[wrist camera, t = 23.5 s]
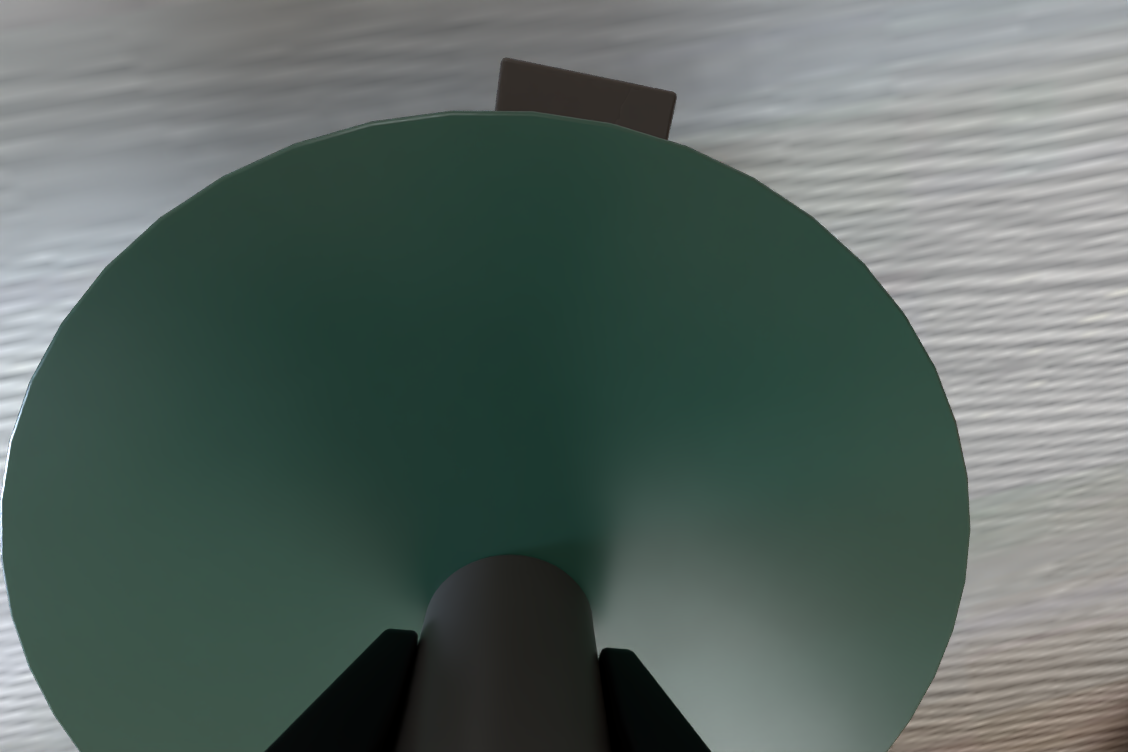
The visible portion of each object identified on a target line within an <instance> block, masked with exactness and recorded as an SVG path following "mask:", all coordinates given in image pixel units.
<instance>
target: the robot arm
mask: <svg viewBox="0 0 1128 752" xmlns="http://www.w3.org/2000/svg"><path fill="white" fill-rule="evenodd" d="M417 646H418V635H417V632H415V631H413V630H403V629H392V628H391V629H387V630H385V631H383V632H382V633H381V634H380V635H379V636H378V637H377V638H376V639H375V640H374V641H373V642H372V643H371V644H370V645H369V646H368V647H367V648H366V649H365V650H364V652H363V653H362V654H361V655H360V656H359V657H358V658H357V659H356V660H355V661H354V662H353V663H352V664H351V665H350V666H349V667H348V668H347V669H346V670H345V671H344V672H343V673H342V674H341V675H340V676H339V677H338V678H337V679H336V680H335V681H334V682H333V683H332V684H331V685H330V686H329V687H328V688H327V689H326V690H325V691H324V692H323V693H322V694H321V695H320V696H319V697H318V698H317V699H316V700H315V701H314V702H313V703H312V704H311V705H310V706H309V707H308V708H307V709H306V710H305V711H304V712H303V713H302V714H301V715H300V716H299V717H298V718H297V719H296V720H295V721H294V722H293V723H292V724H291V725H290V726H289V727H288V728H287V729H286V730H285V731H284V732H283V733H282V734H281V735H280V736H279V737H278V738H277V739H276V740H275V741H274V742H273V743H272V744H271V745H270V746H269V747H268V748H267V749H266V750H265V751H264V752H390V749H391V745H392V741H393V738H394V734H395V730H396V726H397V723H398V719H399V715H400V711H401V707H402V703H403V700H404V696H405V692H406V688H407V684H408V680H409V677H410V673H411V669H412V665H413V661H414V657H415V654H416V650H417ZM598 660H599V667H600V673H601V680H602V687H603V694H604V701H605V708H606V715H607V722H608V729H609V736H610V742H611V749H612V752H711V750H710V749H709V748H708V746H707V745H706V744H705V743H704V741H703V740H702V739H701V737H700V736H699V735H698V734H697V732H696V731H695V730H694V728H693V727H692V726H691V725H690V723H689V722H688V721H687V720H686V718H685V717H684V716H683V714H682V713H681V712H680V711H679V709H678V708H677V707H676V705H675V704H674V703H673V702H672V700H671V699H670V698H669V696H668V695H667V694H666V693H665V691H664V690H663V689H662V687H661V686H660V685H659V684H658V682H657V681H656V680H655V678H654V677H653V676H652V675H651V673H650V672H649V671H648V669H647V668H646V667H645V666H644V664H643V663H642V662H641V661H640V659H639V658H638V657H637V655H636V654H635V653H634V652H633V651H631V650H629V649H620V648H609V647H606V648H604V649H602V651H601V652H600V655H599V659H598Z"/></svg>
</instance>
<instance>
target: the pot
mask: <svg viewBox="0 0 1128 752" xmlns="http://www.w3.org/2000/svg"><path fill="white" fill-rule="evenodd" d="M676 99H677V96H676V93H674V92H672V91H667V90H663V89H658V88H653V87H648V86H643V85H638V84H633V83H629V82H624V81H619V80H614V79H609V78H604V77H599V76H594V75H590V74H585V73H580V72H575V71H570V70H565V69H560V68H555V67H551V66H546V65H541V64H536V63H531V62H526V61H521V60H517V59H512V58H503V59H502V61H501V66H500V74H499V82H498V90H497V98H496V106H495V111H534V112H540V113H547V114H554V115H560V116H567V117H573V118H580V119H586V120H593V121H599V122H606V123H612V124H616V125H619V126H622V127H625V128H629V129H632V130H635V131H639V132H642V133H645V134H649V135H652V136H655V137H658V138H662V139H665V140H668V138H669V133H670V128H671V123H672V118H673V114H674V109H675V104H676Z"/></svg>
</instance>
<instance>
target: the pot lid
mask: <svg viewBox="0 0 1128 752" xmlns="http://www.w3.org/2000/svg"><path fill="white" fill-rule="evenodd" d="M0 526H1V562H2V568H3V573H4V579H5V585H6V590H7V596H8V601H9V607H10V613H11V617H12V619H13V622H14V625H15V628H16V631H17V634H18V637H19V640H20V643H21V646H22V648H23V651H24V654H25V657H26V660H27V663H28V666H29V668H30V670H31V672H32V674H33V676H34V678H35V680H36V682H37V684H38V685H39V687H40V689H41V691H42V693H43V695H44V697H45V699H46V701H47V703H48V705H49V707H50V709H51V710H52V712H53V714H54V716H55V717H56V719H57V720H58V722H59V723H60V724H61V726H62V727H63V729H64V730H65V732H66V733H67V734H68V736H69V737H70V739H71V740H72V741H73V743H74V744H75V746H76V747H77V748H78V750H79V751H80V752H264V751H265V750H266V749H267V748H268V747H269V746H270V745H271V744H272V743H273V742H274V741H275V740H276V739H277V738H278V737H279V736H280V735H281V734H282V733H283V732H284V731H285V730H286V729H287V728H288V727H289V726H290V725H291V724H292V723H293V722H294V721H295V720H296V719H297V718H298V717H299V716H300V715H301V714H302V713H303V712H304V711H305V710H306V709H307V708H308V707H309V706H310V705H311V704H312V703H313V702H314V701H315V700H316V699H317V698H318V697H319V696H320V695H321V694H322V693H323V692H324V691H325V690H326V689H327V688H328V687H329V686H330V685H331V684H332V683H333V682H334V681H335V680H336V679H337V678H338V677H339V676H340V675H341V674H342V673H343V672H344V671H345V670H346V669H347V668H348V667H349V666H350V665H351V664H352V663H353V662H354V661H355V660H356V659H357V658H358V657H359V656H360V655H361V654H362V653H363V652H364V650H365V649H366V648H367V647H368V646H369V645H370V644H371V643H372V642H373V641H374V640H375V639H376V638H377V637H378V636H379V635H380V634H381V633H382V632H383V631H385V630H387V629H391V628H392V629H403V630H413V631H415V632H417V635H418V646H417V650H416V654H415V657H414V661H413V665H412V669H411V673H410V677H409V680H408V684H407V688H406V692H405V696H404V700H403V703H402V707H401V711H400V715H399V719H398V723H397V726H396V730H395V734H394V738H393V741H392V745H391V749H390V752H612V749H611V742H610V736H609V729H608V722H607V715H606V708H605V701H604V694H603V687H602V680H601V673H600V667H599V660H598V659H599V655H600V652H601V651H602V649H604V648H606V647H609V648H620V649H629V650H631V651H633V652H634V653H635V654H636V655H637V657H638V658H639V659H640V661H641V662H642V663H643V664H644V666H645V667H646V668H647V669H648V671H649V672H650V673H651V675H652V676H653V677H654V678H655V680H656V681H657V682H658V684H659V685H660V686H661V687H662V689H663V690H664V691H665V693H666V694H667V695H668V696H669V698H670V699H671V700H672V702H673V703H674V704H675V705H676V707H677V708H678V709H679V711H680V712H681V713H682V714H683V716H684V717H685V718H686V720H687V721H688V722H689V723H690V725H691V726H692V727H693V728H694V730H695V731H696V732H697V734H698V735H699V736H700V737H701V739H702V740H703V741H704V743H705V744H706V745H707V746H708V748H709V749H710V750H711V752H887V751H888V750H889V749H890V747H891V746H892V744H893V743H894V742H895V740H896V739H897V738H898V736H899V735H900V733H901V732H902V731H903V729H904V728H905V727H906V725H907V724H908V723H909V721H910V720H911V718H912V716H913V715H914V713H915V711H916V709H917V707H918V706H919V704H920V702H921V700H922V698H923V697H924V695H925V693H926V691H927V689H928V688H929V686H930V684H931V682H932V680H933V679H934V677H935V674H936V672H937V669H938V667H939V664H940V662H941V659H942V657H943V654H944V652H945V649H946V647H947V644H948V642H949V639H950V637H951V634H952V632H953V629H954V625H955V620H956V616H957V612H958V608H959V604H960V600H961V596H962V592H963V588H964V584H965V578H966V568H967V558H968V547H969V537H970V515H969V496H968V477H967V472H966V467H965V462H964V457H963V453H962V448H961V443H960V438H959V434H958V429H957V424H956V420H955V418H954V415H953V413H952V410H951V407H950V405H949V402H948V399H947V397H946V394H945V392H944V389H943V386H942V384H941V381H940V378H939V376H938V373H937V371H936V368H935V366H934V364H933V363H932V361H931V359H930V357H929V356H928V354H927V352H926V350H925V349H924V347H923V345H922V343H921V342H920V340H919V338H918V337H917V335H916V333H915V331H914V330H913V328H912V326H911V324H910V323H909V321H908V319H907V317H906V316H905V314H904V313H903V311H902V310H901V309H900V308H899V306H898V305H897V304H896V303H895V301H894V300H893V299H892V298H891V296H890V295H889V294H888V293H887V291H886V290H885V289H884V288H883V286H882V285H881V284H880V283H879V281H878V280H877V279H876V278H875V277H874V275H873V274H872V273H871V272H870V270H869V269H868V268H867V267H866V265H865V264H864V263H863V262H862V261H861V260H860V259H859V258H858V257H856V256H855V255H854V254H853V253H852V252H851V251H850V250H849V249H848V248H847V247H845V246H844V245H843V244H842V243H841V242H840V241H839V240H838V239H837V238H836V237H834V236H833V235H832V234H831V233H830V232H829V231H828V230H827V229H826V228H825V227H823V226H822V225H821V224H820V223H819V222H818V221H817V220H816V219H815V218H814V217H812V216H811V215H809V214H808V213H806V212H805V211H803V210H802V209H800V208H799V207H797V206H796V205H794V204H793V203H791V202H790V201H788V200H787V199H785V198H784V197H782V196H781V195H779V194H778V193H776V192H775V191H773V190H772V189H770V188H769V187H767V186H766V185H764V184H763V183H761V182H760V181H758V180H757V179H755V178H753V177H751V176H749V175H747V174H745V173H743V172H741V171H738V170H736V169H734V168H732V167H730V166H728V165H726V164H724V163H721V162H719V161H717V160H715V159H713V158H711V157H709V156H707V155H704V154H702V153H700V152H698V151H696V150H694V149H692V148H690V147H687V146H685V145H681V144H678V143H675V142H672V141H668V140H665V139H662V138H658V137H655V136H652V135H649V134H645V133H642V132H639V131H635V130H632V129H629V128H625V127H622V126H619V125H616V124H612V123H606V122H599V121H593V120H586V119H580V118H573V117H567V116H560V115H554V114H547V113H540V112H534V111H446V112H438V113H431V114H423V115H416V116H409V117H401V118H394V119H386V120H379V121H372V122H368V123H365V124H361V125H358V126H354V127H351V128H347V129H344V130H340V131H337V132H333V133H330V134H326V135H323V136H319V137H316V138H312V139H309V140H305V141H302V142H298V143H295V144H292V145H290V146H288V147H286V148H284V149H282V150H279V151H277V152H275V153H273V154H271V155H268V156H266V157H264V158H262V159H260V160H257V161H255V162H253V163H251V164H249V165H246V166H244V167H242V168H240V169H238V170H235V171H233V172H231V173H229V174H227V175H224V176H223V177H221V178H219V179H218V180H216V181H215V182H213V183H212V184H210V185H209V186H207V187H206V188H204V189H203V190H201V191H200V192H198V193H197V194H195V195H194V196H192V197H191V198H189V199H187V200H186V201H184V202H183V203H181V204H180V205H178V206H177V207H175V208H174V209H172V210H171V211H169V212H168V213H166V214H165V215H163V216H162V217H160V218H159V219H158V220H157V221H156V222H155V223H153V224H152V225H151V226H150V227H149V228H148V229H147V230H146V231H145V232H144V233H142V234H141V235H140V236H139V237H138V238H137V239H136V240H135V241H134V242H133V243H131V244H130V245H129V246H128V247H127V248H126V249H125V250H124V251H123V252H122V253H121V254H119V255H118V256H117V257H116V258H115V259H114V260H113V261H112V262H111V263H110V264H108V265H107V266H106V267H105V268H104V270H103V271H102V272H101V274H100V275H99V276H98V277H97V279H96V280H95V281H94V282H93V284H92V285H91V286H90V288H89V289H88V290H87V291H86V293H85V294H84V295H83V296H82V298H81V299H80V300H79V301H78V303H77V304H76V305H75V307H74V308H73V309H72V310H71V312H70V313H69V314H68V315H67V317H66V318H65V319H64V320H63V322H62V323H61V325H60V327H59V329H58V330H57V332H56V334H55V336H54V338H53V340H52V341H51V343H50V345H49V347H48V349H47V351H46V352H45V354H44V356H43V358H42V360H41V362H40V363H39V365H38V367H37V369H36V371H35V373H34V374H33V376H32V378H31V380H30V382H29V385H28V388H27V391H26V394H25V397H24V400H23V403H22V406H21V409H20V412H19V415H18V418H17V420H16V423H15V426H14V429H13V432H12V435H11V438H10V441H9V448H8V454H7V460H6V467H5V473H4V479H3V486H2V492H1V499H0Z"/></svg>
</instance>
